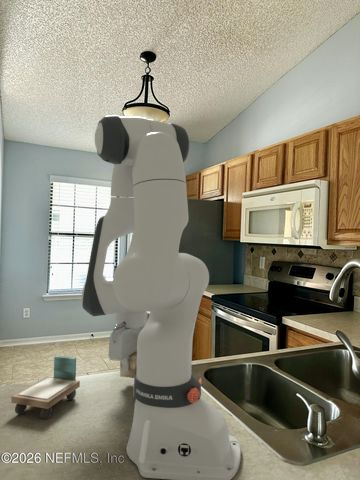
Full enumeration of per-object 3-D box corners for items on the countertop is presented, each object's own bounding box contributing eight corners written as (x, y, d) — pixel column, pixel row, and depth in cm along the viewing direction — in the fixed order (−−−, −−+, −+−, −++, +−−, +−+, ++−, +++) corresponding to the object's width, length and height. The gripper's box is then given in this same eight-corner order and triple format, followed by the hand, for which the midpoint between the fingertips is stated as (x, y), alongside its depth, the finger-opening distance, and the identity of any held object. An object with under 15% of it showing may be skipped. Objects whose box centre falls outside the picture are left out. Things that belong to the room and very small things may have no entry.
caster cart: (81, 395, 90) (82, 358, 90) (47, 421, 76) (48, 377, 76) (49, 391, 92) (50, 354, 93) (10, 415, 79) (12, 372, 79)
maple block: (141, 372, 99) (141, 352, 99) (134, 378, 95) (134, 356, 95) (127, 371, 100) (127, 350, 101) (120, 376, 96) (120, 355, 96)
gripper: (124, 327, 87) (123, 381, 87) (154, 313, 107) (154, 358, 106) (102, 325, 89) (102, 378, 89) (136, 312, 109) (136, 356, 108)
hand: (130, 367), depth 98 cm, fingers closed on maple block, 4 cm apart
